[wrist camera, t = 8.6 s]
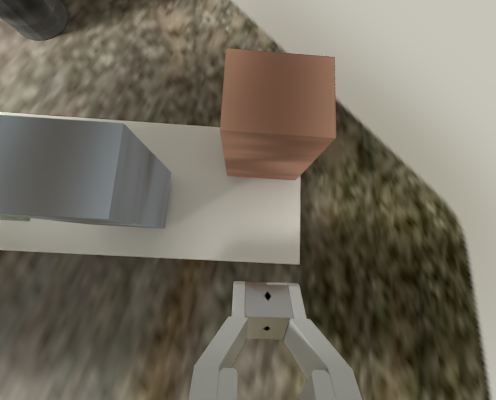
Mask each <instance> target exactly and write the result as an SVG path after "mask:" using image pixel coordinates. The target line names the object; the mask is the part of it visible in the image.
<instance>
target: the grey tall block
mask: <svg viewBox="0 0 496 400" xmlns="http://www.w3.org/2000/svg"><path fill="white" fill-rule="evenodd" d="M170 180H171V172H170V171H169V170H168V169H167V168H166V167H165V165H164V164H163V163H162V162H161V161H160V160H159V159H158V158H157V157H156V156H155V155H154V154H153V153H152V152H151V151H150V150H149V149H148V148H147V147H146V146H145V145H144V144H143V143H142V142H141V141H140V140H139V139H138V138H137V137H136V135H135V134H134V133H133V132H132V131H131V130H130V129H129V128H128V127H127V126H126V125H125V124H124V123H112V122H98V121H83V120H68V119H54V118H39V117H25V116H10V115H0V215H8V216H17V217H26V218H35V219H44V220H53V221H62V222H71V223H80V224H89V225H107V226H125V227H144V228H163V229H165V223H166V215H167V206H168V197H169V188H170Z"/></svg>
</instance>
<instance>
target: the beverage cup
mask: <svg viewBox="0 0 496 400" xmlns="http://www.w3.org/2000/svg"><path fill="white" fill-rule="evenodd" d="M0 18H1V19H2V20H4V21H6V22H7V23H8V24H9V25H11V26H12V27H13V28H15V29H16V30H17V31H18V32H19V33H20V34H21V35H23V36H25V37H26V38H28V39H32V40H47V39H50V38H53V37H55V36H56V35H58V34H60V32H61V31H62V30H63V29H64V28H65V26H66V24H67V22H68V13H67V10H66V8H65V6H64V5H63V4H62V2H61V0H0Z"/></svg>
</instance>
